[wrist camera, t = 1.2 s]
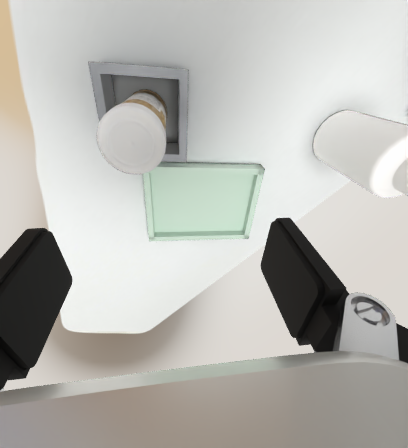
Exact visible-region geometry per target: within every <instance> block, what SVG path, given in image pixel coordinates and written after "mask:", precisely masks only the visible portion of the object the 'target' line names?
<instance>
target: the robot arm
mask: <svg viewBox="0 0 408 448" xmlns="http://www.w3.org/2000/svg"><path fill="white" fill-rule="evenodd" d="M261 270H262V272H263V275H264V277H265V279H266V281H267V283H268V286H269V288H270V290H271V292H272V294H273V297H274V299H275V301H276V303H277V306H278V308H279V310H280V312H281V314H282V317H283V319H284V321H285V323H286V326H287V328H288V330H289V332H290V334H291V336H292V337H293V338H296V340H297V342H298V344H299V345H309V344H311V345H312V347H313V349H314V353H308V354H298V355H288V356H279V357H270V358H261V359H253V360H245V361H236V362H228V363H219V364H211V365H203V366H195V367H186V368H179V369H171V370H162V371H154V372H147V373H139V374H131V375H122V376H114V377H107V378H98V379H91V380H83V381H76V382H68V383H59V384H52V385H44V386H36V387H29V388H22V389H15V390H8V391H4V388H3V387H4V386H5V383H6V382H7V380H14V379H23V378H26V376H27V374H28V372H29V369H30V368H32V367H34V366H35V364H36V363H37V361H38V358H39V356H40V354H41V352H42V349H43V347H44V345H45V343H46V340H47V338H48V336H49V334H50V332H51V329H52V327H53V325H54V323H55V320H56V318H57V316H58V314H59V312H60V309H61V307H62V305H63V303H64V300H65V298H66V296H67V294H68V291H69V289H70V287H71V285H72V276H71V274H70V271H69V269H68V267H67V265H66V262H65V260H64V258H63V256H62V254H61V251H60V249H59V247H58V245H57V242H56V240H55V238H54V236H53V234H52V232H50V231H48V230H47V229H45V228H35V229H27V230H25V231H24V233H23V234H22V235H21V236H20V237H19V238H18V239H17V241H16V242H15V243H14V244H13V245H12V246H11V247H10V249H9V250H8V251H7V252H6V253H5V254H4V255H3V256H2V258H1V259H0V448H408V329H407V328H405V327H403V326H401V325H399V324H397V323H396V320H395V317H394V315H393V313H392V312H391V310H390V309H389V308H388V307H387V306H386V305H385V304H384V303H382V302H381V301H379V300H378V299H376V298H374V297H372V296H370V295H367V294H364V293H351V294H349V293H348V292H347V290H346V287H345V286H344V285H343V283H342V282H341V281H340V280H339V278H338V277H337V276H336V275H335V273H334V272H333V271H332V270H331V268H330V267H329V266H328V265H327V263H326V262H325V261H324V260H323V258H322V257H321V256H320V255H319V253H318V252H317V251H316V250H315V248H314V247H313V246H312V245H311V243H310V242H309V241H308V240H307V238H306V237H305V236H304V235H303V233H302V232H301V231H300V230H299V228H298V227H297V226H296V225H295V223H294V222H293V221H292V220H291V219H290V218H277V219H276V220H275V221H274V222H272V223H271V226H270V230H269V234H268V238H267V242H266V246H265V250H264V254H263V258H262V261H261Z"/></svg>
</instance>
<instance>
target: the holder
mask: <svg viewBox="0 0 408 448" xmlns="http://www.w3.org/2000/svg"><path fill="white" fill-rule="evenodd" d="M88 63H89V69H90V74H91V79H92V85H93V90H94V95H95V101H96V106H97V112H98V117H99V122H100V120H101V119H102V117H103V116H104V115H105V114H106V113H107V112H108V111H109V110H110V109H112V108H113V107H115V106H116V105H115V98H114V91H113V84H112V77H111V74H112V75H125V76H139V77H152V78H166V79H178V143H166V149H165V154H164V157H163V159H162V161H166V162H186V158H187V114H188V71H189V70H187V69H179V68H167V67H155V66H142V65H130V64H118V63H106V62H88Z"/></svg>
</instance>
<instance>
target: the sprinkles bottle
mask: <svg viewBox="0 0 408 448" xmlns="http://www.w3.org/2000/svg"><path fill="white" fill-rule="evenodd" d="M166 120H167V108H166V105H165V103H164V101H163V99H162V98H161V97H160V96H159V95H158V94H157V93H155V92H153V91H151V90H147V89H146V90H139V91H137V92H135V93H134V94H133V95H132V96H131V97H129V98H128V99H126V100H125V101H124V102H123V103H121V104H119V105H117V106H115V107H113V108H112V109H110V110H109V111H108V112H107V113H106V114H105V115H104V116H103V117H102V119H101V120H100V122H99V125H98V128H97V143H98V146H99V149H100V151H101V153H102V155H103V156H104V158H105V159H106V160H107V161H108V163H110V164H111V165H112V166H113V167H114V168H116V169H118V170H120V171H122V172H125V173H128V174H144V173H147V172H149V171H151V170H153V169H154V168H156V167H157V166H158V165H159V164H160V162H161V161H162V159H163V157H164V154H165V149H166V133H165V131H166Z"/></svg>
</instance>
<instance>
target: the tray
mask: <svg viewBox="0 0 408 448" xmlns="http://www.w3.org/2000/svg"><path fill="white" fill-rule="evenodd" d="M264 170H265V169H264V168H263V167H262V166H261V164H227V163H183V162H160V164H159V165H158V166H157V167H156V168H154V169H153V170H151V171H149V172H147V173H144V174H143V182H144V192H145V203H146V213H147V224H148V234H149V241H178V240H217V239H248V238H249V234H250V230H251V225H252V221H253V217H254V213H255V208H256V204H257V200H258V196H259V191H260V187H261V183H262V179H263V174H264Z"/></svg>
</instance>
